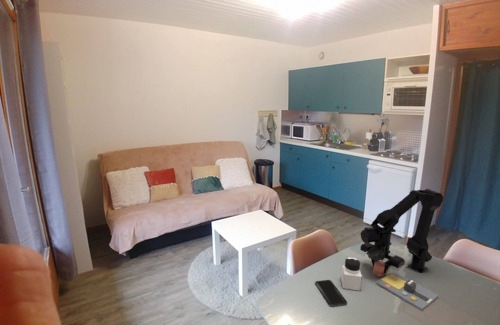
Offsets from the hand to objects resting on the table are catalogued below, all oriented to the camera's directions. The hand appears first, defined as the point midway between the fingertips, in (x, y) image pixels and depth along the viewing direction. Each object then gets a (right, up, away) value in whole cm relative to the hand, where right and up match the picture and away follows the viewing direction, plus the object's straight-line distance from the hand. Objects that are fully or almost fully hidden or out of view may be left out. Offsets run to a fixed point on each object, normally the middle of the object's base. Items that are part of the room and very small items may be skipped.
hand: (379, 270), depth 127 cm
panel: (+6, -4, -12) cm, 14 cm away
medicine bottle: (-17, -3, -8) cm, 19 cm away
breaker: (+6, -3, -13) cm, 15 cm away
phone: (-28, -4, -14) cm, 31 cm away
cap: (0, -1, 0) cm, 1 cm away
